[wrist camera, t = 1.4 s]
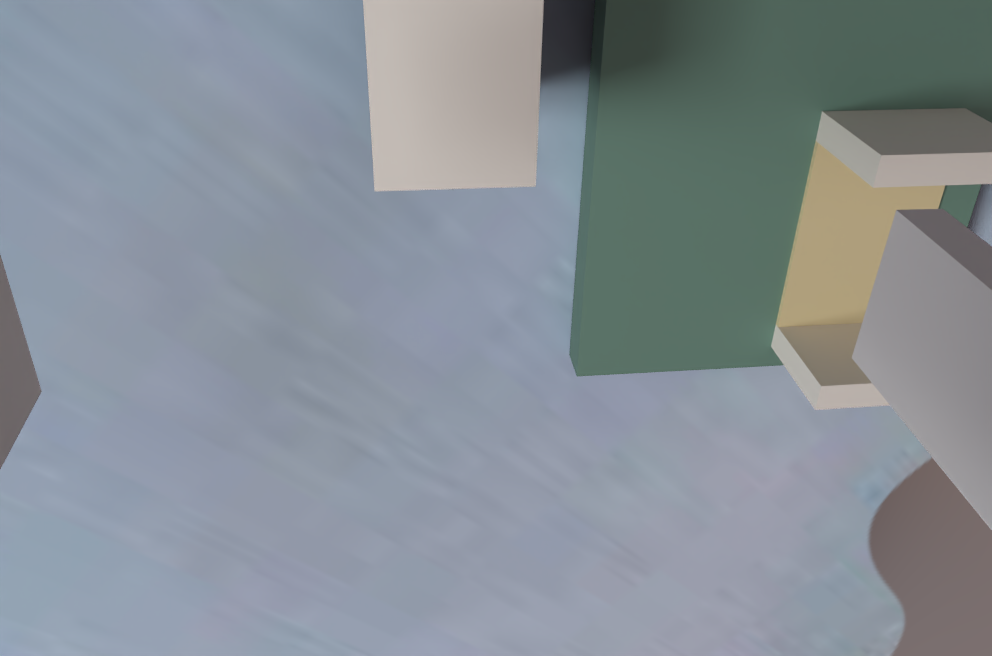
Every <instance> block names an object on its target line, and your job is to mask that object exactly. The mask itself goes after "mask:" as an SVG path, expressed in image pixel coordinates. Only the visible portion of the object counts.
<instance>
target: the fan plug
mask: <svg viewBox="0 0 992 656" xmlns="http://www.w3.org/2000/svg"><path fill="white" fill-rule="evenodd" d="M543 5H544V0H363V6H364V22H365V39H366V55H367V72H368V88H369V104H370V121H371V137H372V154H373V170H374V186H375V191H403V190H436V189H469V188H502V187H534V186H536V168H537V145H538V121H539V98H540V75H541V52H542V29H543Z"/></svg>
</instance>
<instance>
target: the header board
mask: <svg viewBox="0 0 992 656" xmlns="http://www.w3.org/2000/svg"><path fill="white" fill-rule="evenodd" d="M981 184H992V0H595V10H594V24H593V37H592V51H591V65H590V79H589V92H588V106H587V120H586V134H585V147H584V161H583V175H582V189H581V203H580V216H579V230H578V244H577V258H576V271H575V285H574V299H573V313H572V326H571V340H570V354H569V355H570V358H571V360H572V363H573V366H574V369H575V372H576V375H577V376H592V375H610V374H629V373H647V372H665V371H684V370H702V369H721V368H739V367H758V366H776V365H784V366H785V367H786V369H787V370H788V372H789V373H790V375H791V376H792V377H793V379H794V380H795V382H796V383H797V385H798V386H799V388H800V389H801V390H802V392H803V393H804V395H805V396H806V398H807V399H808V400H809V402H810V403H811V405H812V406H813V408H814V409H815V410H821V409H837V408H854V407H871V406H887V405H889V403H888V402H887V401H886V400H885V398H884V397H883V396H882V395H881V393H880V392H879V391H878V390H877V389H876V387H875V386H874V385H873V384H872V382H871V381H870V380H869V379H868V377H867V376H866V375H865V374H864V373H863V371H862V370H861V369H860V368H859V366H858V365H857V364H856V363H855V361H854V360H853V359H852V355H853V352H854V348H855V345H856V342H857V338H858V335H859V332H860V329H861V325H862V322H863V319H864V315H865V312H866V309H867V305H868V302H869V299H870V295H871V292H872V289H873V285H874V282H875V279H876V276H877V272H878V269H879V266H880V262H881V259H882V256H883V252H884V249H885V246H886V242H887V239H888V236H889V232H890V229H891V226H892V222H893V219H894V216H895V213H896V210H910V209H944V210H945V211H946V212H948V213H949V214H950V215H951V216H953V217H954V218H955V219H957V220H958V221H959V222H960V223H962V224H963V225H964V226H966V227H968V224H969V221H970V218H971V215H972V212H973V209H974V206H975V202H976V199H977V196H978V193H979V190H980V187H981Z"/></svg>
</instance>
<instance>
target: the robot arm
mask: <svg viewBox="0 0 992 656" xmlns="http://www.w3.org/2000/svg"><path fill="white" fill-rule="evenodd" d="M852 359H853V360H854V361H855V363H856V364H857V365H858V366H859V368H860V369H861V370H862V371H863V373H864V374H865V375H866V376H867V377H868V379H869V380H870V381H871V382H872V384H873V385H874V386H875V387H876V389H877V390H878V391H879V392H880V393H881V395H882V396H883V397H884V398H885V400H886V401H887V402H888V403H889V405H890V406H891V407H892V408H893V409H894V411H895V412H896V413H897V414H898V416H899V417H900V418H901V419H902V421H903V422H904V423H905V424H906V425H907V427H908V428H909V429H910V430H911V432H912V433H913V434H914V435H915V437H916V438H917V439H918V440H919V441H920V443H921V444H922V445H923V446H924V448H925V449H926V450H927V451H928V453H929V454H930V455H931V456H932V457H933V459H934V460H935V461H936V462H937V464H938V465H939V466H940V467H941V469H942V470H943V471H944V472H945V473H946V475H947V476H948V477H949V478H950V480H951V481H952V482H953V483H954V484H955V486H956V487H957V488H958V489H959V491H960V492H961V493H962V494H963V496H964V497H965V498H966V499H967V500H968V502H969V503H970V504H971V505H972V507H973V508H974V509H975V510H976V512H977V513H978V514H979V515H980V516H981V518H982V519H983V520H984V522H985V523H986V524H987V525H988V526H989V528H990V529H991V530H992V246H990V245H989V244H988V243H986V242H985V241H984V240H982V239H981V238H980V237H979V236H977V235H976V234H975V233H973V232H972V231H971V230H970V229H968V228H967V227H966V226H964V225H963V224H962V223H960V222H959V221H958V220H957V219H955V218H954V217H953V216H951V215H950V214H949V213H948V212H946V211H945V210H944V209H910V210H896V213H895V216H894V219H893V222H892V226H891V229H890V232H889V236H888V239H887V242H886V246H885V249H884V252H883V256H882V259H881V262H880V266H879V269H878V272H877V276H876V279H875V282H874V285H873V289H872V292H871V295H870V299H869V302H868V305H867V309H866V312H865V315H864V319H863V322H862V325H861V329H860V332H859V335H858V338H857V342H856V345H855V348H854V352H853V355H852ZM41 392H42V391H41V388H40V385H39V381H38V378H37V375H36V371H35V368H34V365H33V361H32V358H31V355H30V351H29V348H28V345H27V342H26V338H25V335H24V332H23V328H22V325H21V322H20V318H19V315H18V312H17V308H16V305H15V302H14V298H13V295H12V292H11V289H10V285H9V282H8V279H7V275H6V272H5V269H4V265H3V262H2V259H1V255H0V469H1V467H2V465H3V463H4V461H5V459H6V457H7V456H8V454H9V452H10V450H11V448H12V446H13V444H14V442H15V441H16V439H17V437H18V435H19V433H20V431H21V429H22V427H23V425H24V424H25V422H26V420H27V418H28V416H29V414H30V412H31V410H32V409H33V407H34V405H35V403H36V401H37V399H38V397H39V395H40V393H41Z"/></svg>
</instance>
